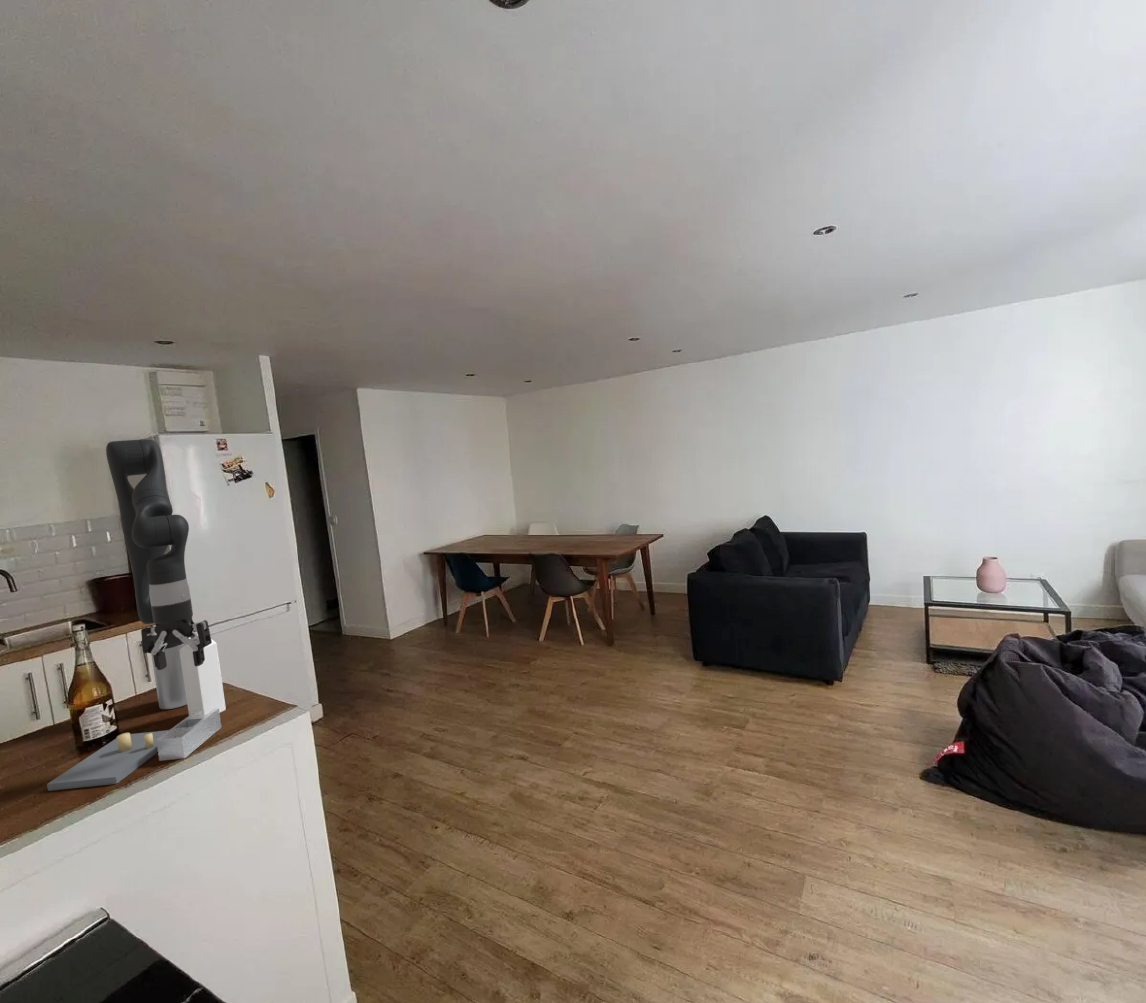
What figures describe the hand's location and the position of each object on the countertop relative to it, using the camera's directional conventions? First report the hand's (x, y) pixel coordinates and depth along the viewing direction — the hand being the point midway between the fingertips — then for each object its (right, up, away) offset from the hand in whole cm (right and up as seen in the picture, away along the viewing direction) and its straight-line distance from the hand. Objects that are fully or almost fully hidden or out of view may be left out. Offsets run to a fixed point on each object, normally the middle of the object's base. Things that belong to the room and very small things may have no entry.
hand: (180, 667), depth 127 cm
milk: (-5, -18, +17) cm, 26 cm away
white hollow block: (+2, -19, +2) cm, 19 cm away
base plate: (-11, -20, -4) cm, 24 cm away
